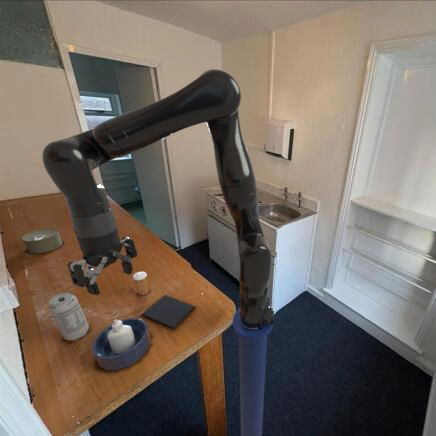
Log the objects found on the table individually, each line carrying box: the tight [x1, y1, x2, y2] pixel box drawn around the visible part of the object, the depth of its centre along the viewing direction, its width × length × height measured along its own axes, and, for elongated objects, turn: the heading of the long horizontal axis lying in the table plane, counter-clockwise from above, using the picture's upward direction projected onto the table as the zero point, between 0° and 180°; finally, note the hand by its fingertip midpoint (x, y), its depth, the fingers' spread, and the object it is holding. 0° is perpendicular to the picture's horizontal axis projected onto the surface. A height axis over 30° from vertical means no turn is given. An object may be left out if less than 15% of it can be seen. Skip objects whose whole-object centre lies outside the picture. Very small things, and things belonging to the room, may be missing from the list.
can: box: [21, 228, 63, 254], centre depth 111 cm, size 12×12×7 cm
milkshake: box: [132, 271, 149, 296], centre depth 89 cm, size 4×5×10 cm
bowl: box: [91, 317, 151, 371], centre depth 69 cm, size 13×13×6 cm
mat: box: [142, 294, 196, 330], centre depth 84 cm, size 14×10×1 cm
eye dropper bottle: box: [108, 318, 136, 354], centre depth 68 cm, size 4×6×12 cm
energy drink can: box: [48, 292, 90, 341], centre depth 70 cm, size 6×6×15 cm
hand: (113, 282), depth 61 cm, fingers open, 8 cm apart
